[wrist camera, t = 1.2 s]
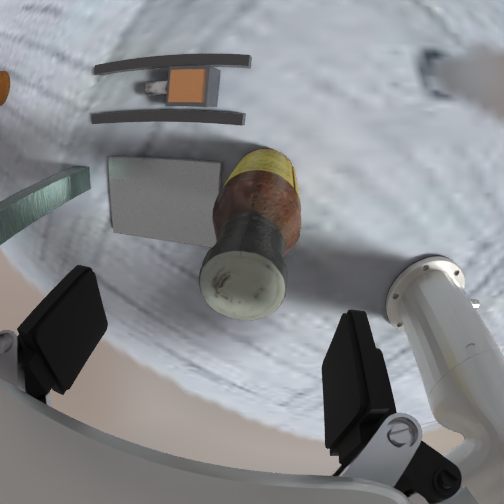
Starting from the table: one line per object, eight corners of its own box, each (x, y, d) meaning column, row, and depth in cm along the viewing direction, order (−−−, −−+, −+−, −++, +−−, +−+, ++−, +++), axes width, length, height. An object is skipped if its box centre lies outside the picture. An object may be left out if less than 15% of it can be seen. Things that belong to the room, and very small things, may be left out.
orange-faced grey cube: (220, 70, 25) (209, 65, 21) (216, 106, 27) (205, 106, 23) (158, 72, 25) (139, 68, 21) (155, 106, 27) (136, 107, 23)
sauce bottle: (227, 164, 30) (139, 251, 12) (278, 136, 28) (258, 184, 10) (257, 214, 32) (217, 348, 15) (307, 189, 30) (328, 311, 13)
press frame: (251, 57, 24) (190, -15, 7) (233, 246, 34) (183, 376, 18) (68, 73, 25) (-54, 87, 9) (74, 223, 36) (-18, 298, 19)
